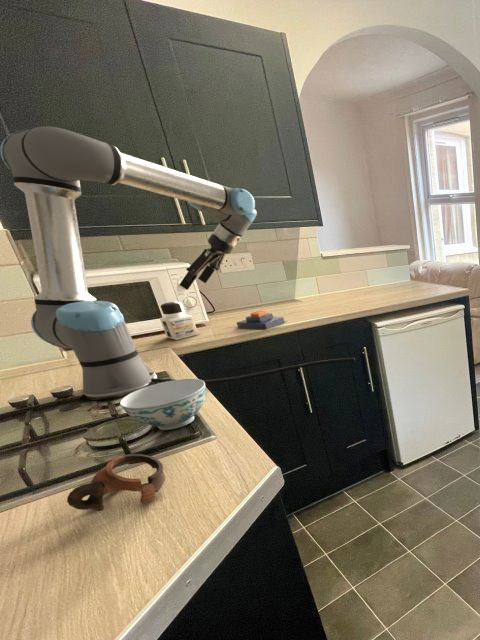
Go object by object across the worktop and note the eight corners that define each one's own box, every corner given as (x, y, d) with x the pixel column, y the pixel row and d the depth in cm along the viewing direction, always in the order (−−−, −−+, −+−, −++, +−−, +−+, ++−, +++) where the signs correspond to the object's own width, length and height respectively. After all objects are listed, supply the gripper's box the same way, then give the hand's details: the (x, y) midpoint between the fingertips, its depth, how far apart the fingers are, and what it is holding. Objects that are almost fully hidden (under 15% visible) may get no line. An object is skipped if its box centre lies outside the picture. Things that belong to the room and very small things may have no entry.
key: (267, 315, 173) (265, 311, 172) (259, 317, 169) (258, 313, 168) (259, 315, 173) (257, 310, 173) (251, 317, 170) (250, 313, 169)
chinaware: (228, 416, 97) (217, 386, 94) (151, 447, 86) (136, 413, 83) (197, 402, 105) (187, 374, 102) (123, 429, 93) (108, 398, 90)
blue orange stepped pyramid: (284, 322, 175) (282, 312, 174) (266, 328, 167) (263, 319, 165) (257, 321, 179) (254, 311, 177) (238, 327, 170) (235, 318, 168)
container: (176, 340, 157) (163, 306, 151) (166, 337, 160) (153, 304, 155) (199, 334, 163) (187, 301, 158) (189, 332, 166) (177, 299, 161)
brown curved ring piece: (132, 480, 76) (143, 443, 74) (171, 509, 75) (183, 472, 73) (46, 510, 64) (56, 467, 62) (90, 544, 63) (102, 501, 61)
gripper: (219, 249, 142) (186, 297, 145) (247, 243, 164) (218, 284, 168) (196, 233, 139) (163, 282, 142) (228, 229, 161) (199, 272, 165)
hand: (193, 283), depth 155 cm, fingers open, 13 cm apart
